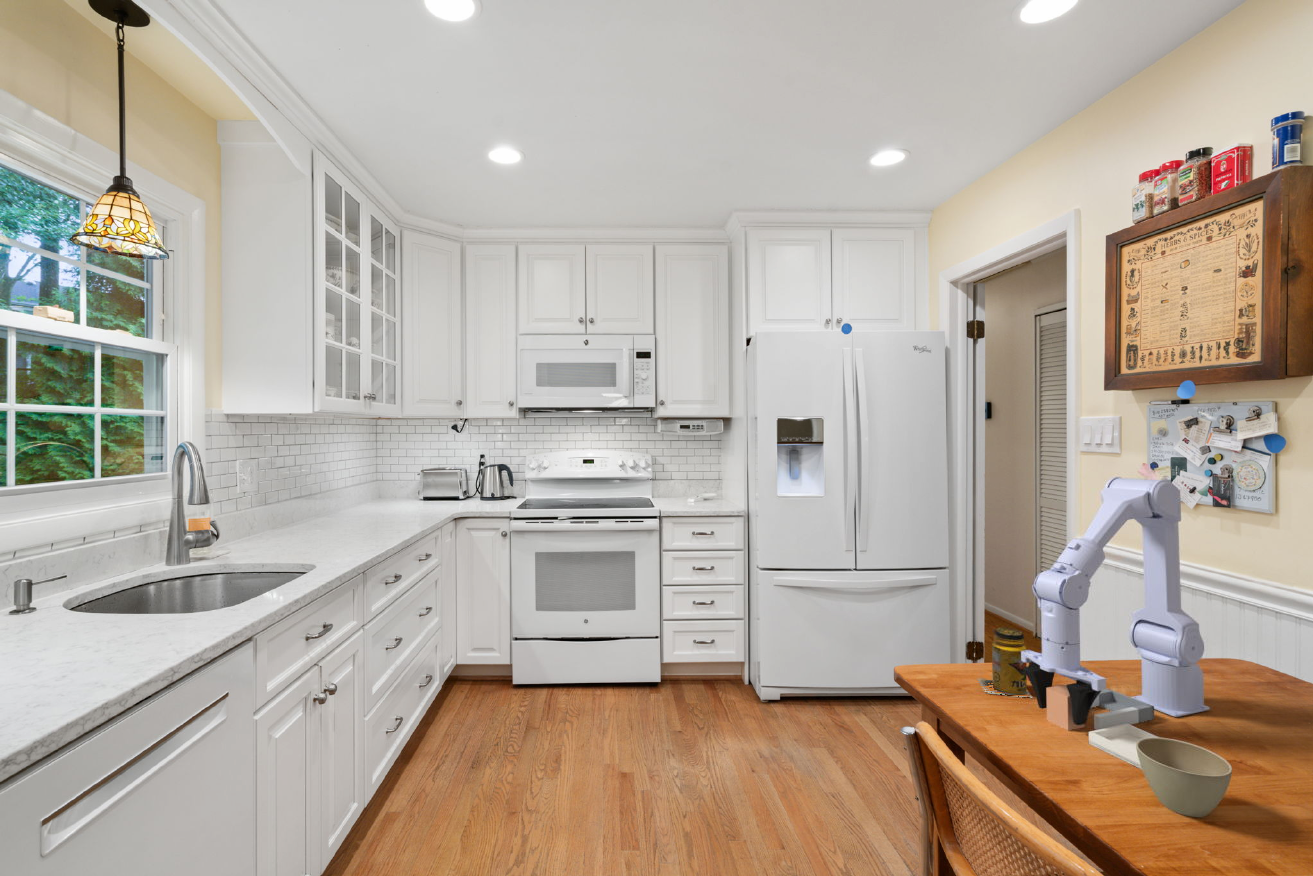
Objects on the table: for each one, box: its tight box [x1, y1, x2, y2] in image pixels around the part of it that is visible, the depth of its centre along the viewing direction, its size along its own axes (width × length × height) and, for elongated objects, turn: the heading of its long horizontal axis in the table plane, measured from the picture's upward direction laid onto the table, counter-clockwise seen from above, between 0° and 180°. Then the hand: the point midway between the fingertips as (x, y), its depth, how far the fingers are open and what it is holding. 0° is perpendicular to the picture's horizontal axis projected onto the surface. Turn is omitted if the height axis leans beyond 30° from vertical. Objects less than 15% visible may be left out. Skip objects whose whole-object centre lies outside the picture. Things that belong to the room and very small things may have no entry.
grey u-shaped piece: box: [1099, 688, 1155, 723], centre depth 111 cm, size 4×8×2 cm, turn 17°
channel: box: [1090, 695, 1139, 730], centre depth 109 cm, size 10×8×2 cm
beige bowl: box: [1136, 736, 1233, 818], centre depth 83 cm, size 10×10×7 cm
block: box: [1046, 684, 1086, 732], centre depth 107 cm, size 4×4×6 cm
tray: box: [1088, 724, 1161, 770], centre depth 97 cm, size 9×9×2 cm
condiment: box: [977, 627, 1034, 699], centre depth 122 cm, size 7×8×12 cm
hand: (1061, 715), depth 107 cm, fingers open, 6 cm apart
